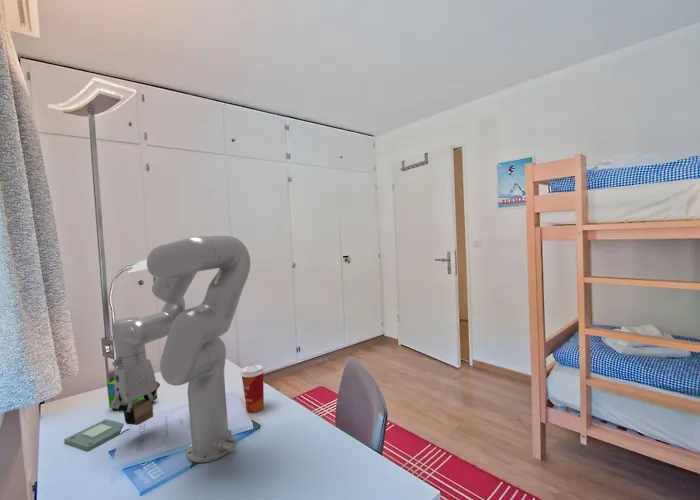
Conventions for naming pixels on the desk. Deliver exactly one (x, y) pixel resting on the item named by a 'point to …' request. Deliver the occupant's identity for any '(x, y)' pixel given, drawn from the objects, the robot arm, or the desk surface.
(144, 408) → the walnut cube
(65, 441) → the baseplate
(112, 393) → the toy car
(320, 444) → the desk surface
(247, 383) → the paper cup
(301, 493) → the desk surface
